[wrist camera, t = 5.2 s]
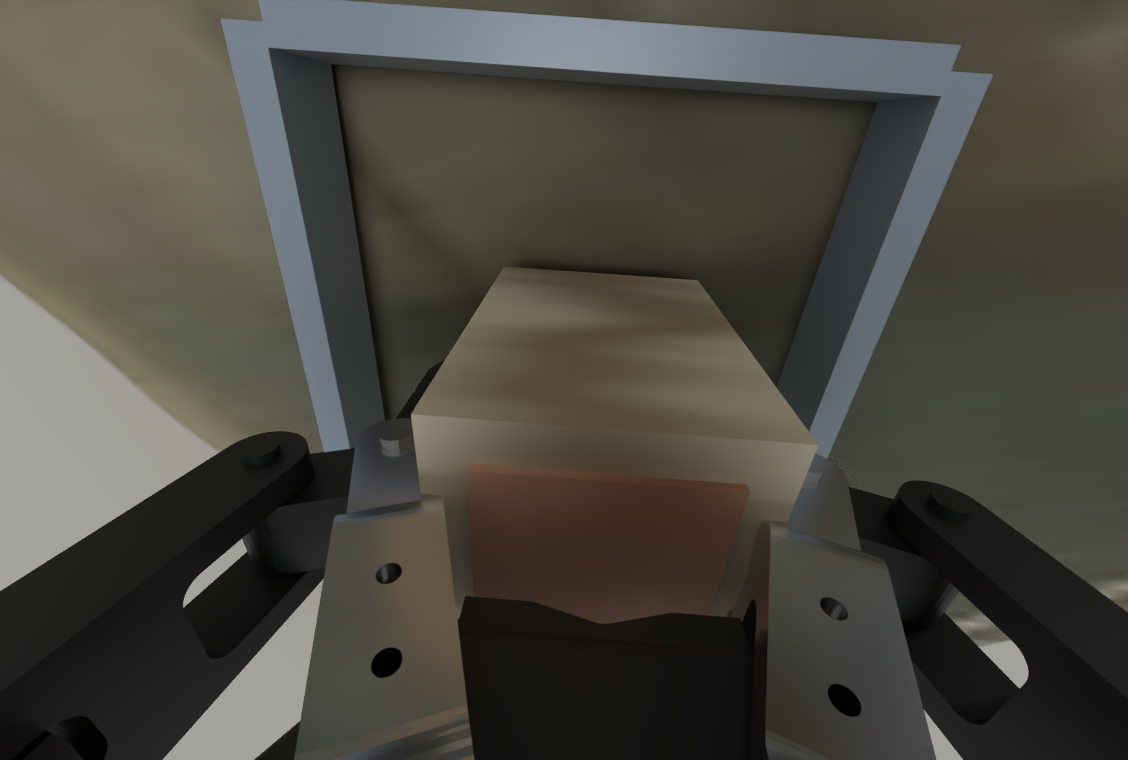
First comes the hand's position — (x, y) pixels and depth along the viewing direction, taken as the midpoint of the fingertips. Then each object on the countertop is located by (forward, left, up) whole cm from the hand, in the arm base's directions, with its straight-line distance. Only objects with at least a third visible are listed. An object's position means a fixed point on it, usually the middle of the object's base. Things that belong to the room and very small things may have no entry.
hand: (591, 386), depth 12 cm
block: (0, 0, -1) cm, 1 cm away
